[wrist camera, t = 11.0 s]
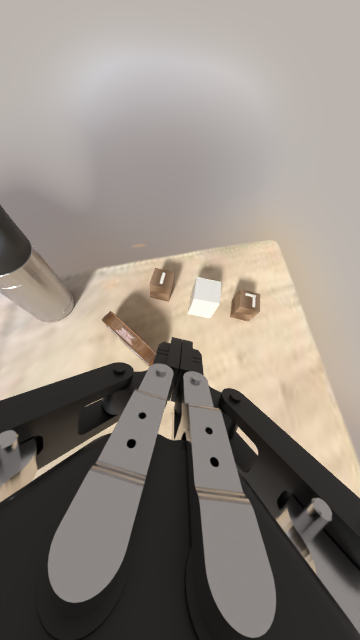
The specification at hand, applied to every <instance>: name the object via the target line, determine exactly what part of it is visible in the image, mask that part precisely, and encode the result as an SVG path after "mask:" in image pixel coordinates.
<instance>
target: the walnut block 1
mask: <svg viewBox="0 0 360 640" xmlns="http://www.w3.org/2000/svg"><path fill="white" fill-rule="evenodd" d="M174 275H175V273H174V272H170V271H166V270H162V269H158V268H155V270H154V273H153V276H152V279H151V282H150V297H152V298H156V299H160V300H164V301H168V302H169V299H170V295H171V291H172V287H173V282H174Z"/></svg>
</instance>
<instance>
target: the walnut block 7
mask: <svg viewBox="0 0 360 640" xmlns="http://www.w3.org/2000/svg"><path fill="white" fill-rule="evenodd" d="M259 312H260V294H257V293H253V292H249V291H245V290H240V291H239V293H238V294H237V295H236V297H235V298H234V299H233V300H232V306H231V315H230V317H233V318H237V319H241V320H245V321H249V320H250V319H252V318H253V317H254V316H255V315H256V314H257V313H259Z"/></svg>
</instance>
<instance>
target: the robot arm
mask: <svg viewBox="0 0 360 640" xmlns="http://www.w3.org/2000/svg"><path fill="white" fill-rule="evenodd" d="M0 293H1V294H3V295H4V296H6V297H7V298H9V299H10V300H11V301H13V302H14V303H16V304H17V305H19V306H20V307H22V308H23V309H24V310H26V311H27V312H29V313H30V314H32V315H33V316H34V317H36V318H37V319H39V320H41V321H44V322H55V321H59V320H61V319H63V318H65V317H66V316H67V315H68V314H69V313H70V312H71V311H72V309H73V307H74V298H73V296H72V294H71V293H70V292H69V290H68V289H67V288H66V287H65V285H64V284H63V283H62V281H61V280H60V279H59V278H58V276H57V275H56V274H55V273H54V271H53V270H52V269H51V268H50V266H49V265H48V264H47V263H46V261H45V260H44V259H43V258H42V256H41V255H40V254H39V252H38V251H37V250H36V249H35V247H34V246H33V245H32V244H31V243H30V241H29V240H28V239H27V238H26V236H25V235H24V234H23V233H22V231H21V230H20V229H19V228H18V227H17V226H16V225H15V223H14V222H13V221H12V219H11V218H10V217H9V216H8V214H7V213H6V212H5V211H4V209H3V208H2V207H1V205H0ZM171 395H172V396H171ZM170 398H171V401H173V402H175V406H174V409H173V413H172V440H169V439H167V438H165V437H163V436H161V435H159V434H158V430H159V427H160V423H161V419H162V416H163V412H164V408H165V407H166V404H167V401H170ZM99 399H101V400H99ZM97 400H99V401H97ZM95 401H97V402H95ZM93 402H95V403H93ZM91 403H93V404H91ZM89 404H90V405H89ZM87 405H88V406H87ZM85 406H86V407H85ZM116 422H117V424H116V426H115V428H114V430H113V432H112V433H110V434H107V435H104V436H101V437H99V438H97V439H95V440H94V441H92V442H90V443H89V444H87V445H86V446H84V447H83V448H81V449H80V450H78V451H77V452H75V453H74V454H72V455H71V456H69V457H68V458H66V459H65V460H63V461H62V462H60V463H59V464H57V465H56V466H54V467H53V468H51V469H50V470H48V471H47V472H45V473H44V474H42V475H41V476H39V477H38V478H36V479H35V480H33V478H34V476H35V474H36V472H37V470H38V469H40V468H42V467H43V466H45V465H47V464H48V463H50V462H52V461H53V460H55V459H57V458H58V457H60V456H62V455H63V454H65V453H67V452H68V451H70V450H71V449H73V448H75V447H76V446H78V445H80V444H81V443H83V442H85V441H86V440H88V439H90V438H91V437H93V436H95V435H96V434H98V433H100V432H101V431H103V430H104V429H106V428H108V427H109V426H111V425H113V424H114V423H116ZM238 427H239V428H240V429H241V430H242V431H243V432H244V433H245V434H246V435H247V436H248V437H249V438H250V440H251V441H252V442H253V443H254V444H255V445H256V447H257V449H258V455H257V454H256V453H255V452H254V451H253V450H252V449H251V448H250V447H249V446H248V444H247V443H246V442H245V441H244V440H243V439H242V438H241V437H240V436H239V434H238V433H237V432H236V430H237V428H238ZM32 480H33V481H32ZM31 481H32V482H31ZM0 640H360V498H359V497H358V496H356V495H355V494H354V493H353V492H352V491H351V490H350V489H349V488H347V487H346V486H345V485H344V484H343V483H342V482H341V481H340V480H339V479H337V478H336V477H335V476H334V475H333V474H332V473H331V472H330V471H328V470H327V469H326V468H325V467H324V466H323V465H322V464H321V463H319V462H318V461H317V460H316V459H315V458H314V457H313V456H312V455H310V454H309V453H308V452H307V451H306V450H305V449H304V448H303V447H301V446H300V445H299V444H298V443H297V442H296V441H295V440H294V439H292V438H291V437H290V436H289V435H288V434H287V433H286V432H285V431H283V430H282V429H281V428H280V427H279V426H278V425H277V424H276V423H274V422H273V421H272V420H271V419H270V418H269V417H268V416H267V415H265V414H264V413H263V412H262V411H261V410H260V409H259V408H258V407H256V406H255V405H254V404H253V403H252V402H251V401H250V400H249V399H248V398H246V397H245V396H244V395H243V394H242V393H240V392H239V391H237V390H235V389H231V388H227V389H224V390H223V391H222V393H221V392H219V391H217V390H215V389H213V388H211V387H210V386H209V385H208V381H207V379H206V378H205V377H204V376H203V365H202V355H201V353H200V352H199V351H198V350H195V349H193V342H191V341H187V340H182V339H178V338H174V337H172V340H171V344H170V343H166V342H163V343H161V344H160V345H159V347H158V350H157V353H156V356H155V359H154V362H153V365H151V366H150V367H149V369H148V370H146V371H143V372H134V371H133V368H132V367H131V366H130V365H128V364H126V363H120V362H118V363H112V364H109V365H106V366H103V367H100V368H97V369H94V370H91V371H88V372H85V373H82V374H79V375H76V376H73V377H70V378H67V379H64V380H61V381H58V382H55V383H52V384H49V385H46V386H43V387H40V388H37V389H34V390H31V391H28V392H25V393H22V394H19V395H16V396H13V397H10V398H7V399H4V400H1V401H0Z"/></svg>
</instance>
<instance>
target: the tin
mask: <svg viewBox="0 0 360 640" xmlns="http://www.w3.org/2000/svg"><path fill="white" fill-rule="evenodd" d="M102 321H103V322H104V323H105V324H106V325H107V327H108V328H109V329H110V330H111V331H112V332H113V333H114V334H115V335H116V336H117V337H119V338H120V339H121V340H122V341H123V342H124V343H125V344H126V345H127V346H128V347H129V348H130V349H131V350H132V351H133V352H134V353H135V354H136V355H137V356H139V357H140V358H141V359H142V360H143V361H144V362H145V363H146V364H147V365H149V366H151V365H153V362H154V359H155V356H156V353H155V352H154V350H153V349H152V348H151V347H150V346H149V345H148V344H147V343H145V342H144V341H143V340H142V339H141V338H140V337H139V336H138V335H137V334H136V333H135V332H134V331H132V330H131V329H130V328H129V327H128V326H127V325H126V324H125V323H124V322H123V321H122V320H121V319H119V318H118V317H117V316H116V315H115V314H114V313H112V312H111V311H110V312H109V313H108V314H107V315H106V316H105V317H104V318H103V319H102Z"/></svg>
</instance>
